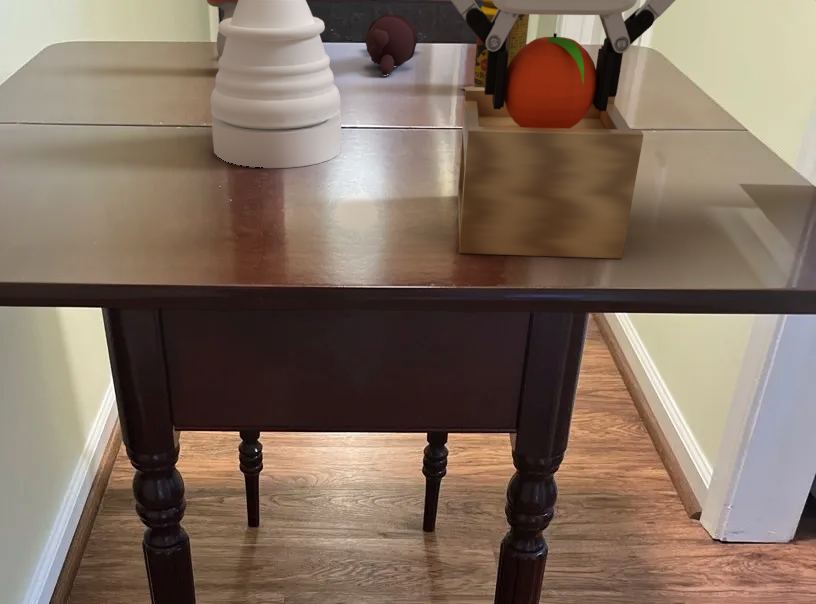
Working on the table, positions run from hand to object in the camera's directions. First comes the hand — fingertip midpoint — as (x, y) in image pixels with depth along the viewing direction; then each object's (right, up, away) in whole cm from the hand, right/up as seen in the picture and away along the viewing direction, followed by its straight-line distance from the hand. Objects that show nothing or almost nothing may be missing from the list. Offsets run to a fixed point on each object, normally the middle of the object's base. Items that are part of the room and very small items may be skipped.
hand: (548, 104), depth 69 cm
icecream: (-9, +28, +59) cm, 65 cm away
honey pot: (-22, +4, +24) cm, 33 cm away
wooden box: (0, -8, +5) cm, 9 cm away
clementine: (0, -2, +1) cm, 3 cm away
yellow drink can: (+5, +20, +47) cm, 51 cm away
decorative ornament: (-28, +25, +55) cm, 67 cm away
